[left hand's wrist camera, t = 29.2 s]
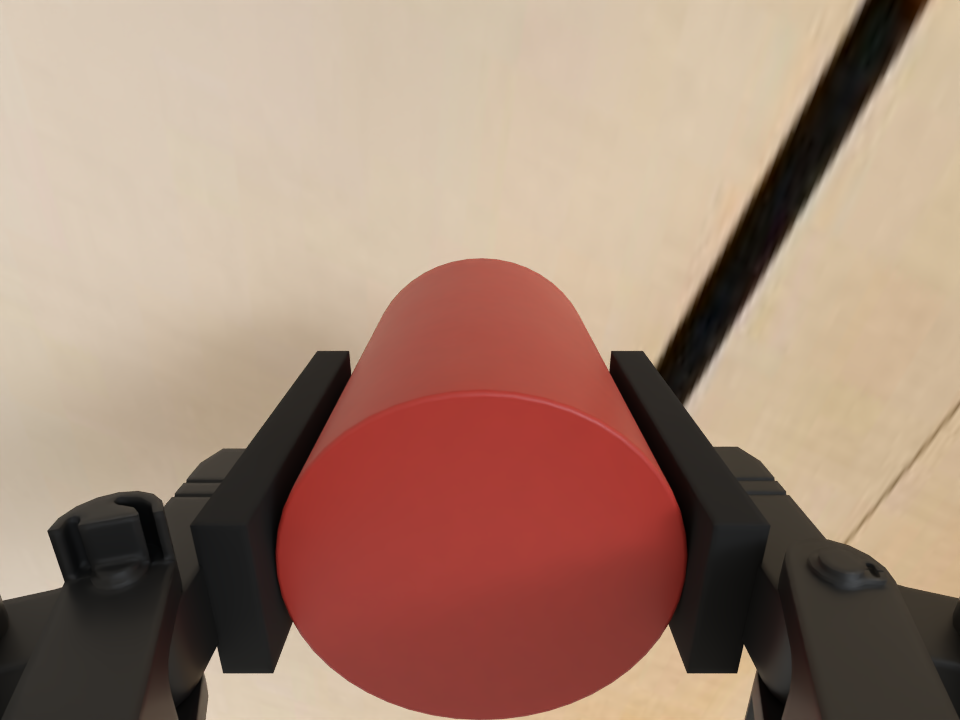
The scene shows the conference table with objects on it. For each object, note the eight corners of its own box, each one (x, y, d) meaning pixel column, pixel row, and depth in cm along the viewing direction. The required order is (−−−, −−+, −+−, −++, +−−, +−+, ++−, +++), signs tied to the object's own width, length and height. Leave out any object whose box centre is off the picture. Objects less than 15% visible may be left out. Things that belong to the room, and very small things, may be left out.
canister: (460, 209, 15) (439, 298, 7) (634, 348, 16) (778, 550, 9) (330, 381, 17) (198, 604, 9) (497, 493, 18) (510, 771, 10)
